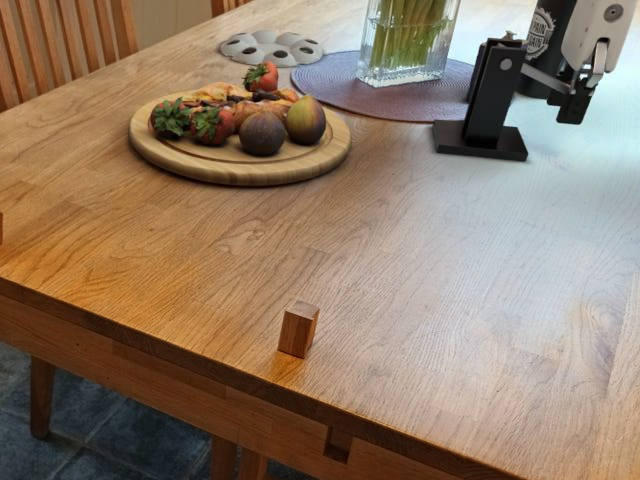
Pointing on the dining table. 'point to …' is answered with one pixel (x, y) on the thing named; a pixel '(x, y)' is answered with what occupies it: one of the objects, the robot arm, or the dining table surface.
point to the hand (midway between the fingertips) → (563, 113)
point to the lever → (544, 77)
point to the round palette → (272, 49)
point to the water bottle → (545, 44)
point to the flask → (479, 58)
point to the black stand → (488, 108)
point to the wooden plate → (241, 133)
